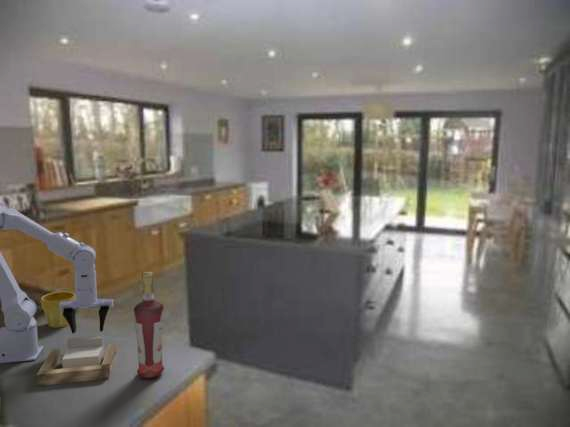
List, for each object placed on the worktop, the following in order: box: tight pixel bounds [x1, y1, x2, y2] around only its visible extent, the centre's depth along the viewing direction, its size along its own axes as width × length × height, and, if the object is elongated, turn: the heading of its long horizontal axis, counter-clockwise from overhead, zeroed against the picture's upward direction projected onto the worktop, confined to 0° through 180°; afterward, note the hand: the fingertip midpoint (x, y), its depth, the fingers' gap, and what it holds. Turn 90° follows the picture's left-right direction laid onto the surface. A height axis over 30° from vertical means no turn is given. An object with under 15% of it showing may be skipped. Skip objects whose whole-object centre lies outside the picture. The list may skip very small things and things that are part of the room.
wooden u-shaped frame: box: [36, 343, 118, 387], centre depth 117 cm, size 17×14×3 cm
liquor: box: [133, 271, 165, 380], centre depth 113 cm, size 7×7×28 cm
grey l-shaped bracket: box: [61, 336, 104, 369], centre depth 119 cm, size 9×7×6 cm
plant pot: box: [40, 291, 76, 329], centre depth 145 cm, size 10×10×10 cm
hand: (88, 331), depth 129 cm, fingers open, 7 cm apart
